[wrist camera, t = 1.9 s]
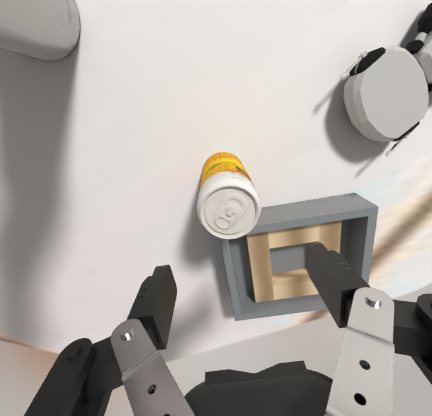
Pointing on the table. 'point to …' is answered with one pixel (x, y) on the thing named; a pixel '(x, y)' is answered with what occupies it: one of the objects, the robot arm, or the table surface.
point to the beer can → (227, 197)
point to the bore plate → (290, 280)
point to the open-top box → (299, 250)
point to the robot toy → (391, 87)
